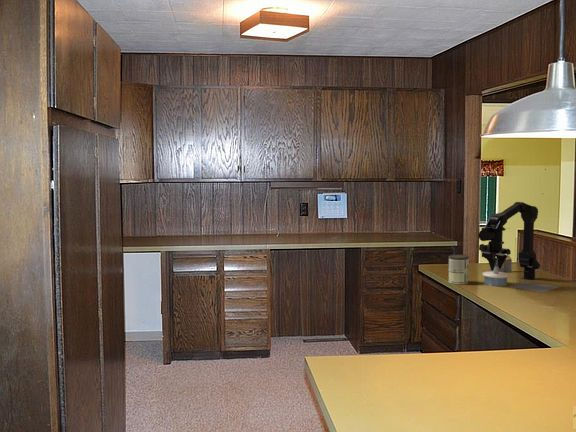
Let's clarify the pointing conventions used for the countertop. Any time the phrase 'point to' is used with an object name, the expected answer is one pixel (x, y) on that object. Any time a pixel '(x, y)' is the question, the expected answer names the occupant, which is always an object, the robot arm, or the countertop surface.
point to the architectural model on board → (505, 265)
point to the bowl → (495, 281)
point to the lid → (495, 274)
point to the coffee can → (458, 269)
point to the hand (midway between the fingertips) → (495, 269)
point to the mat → (534, 287)
